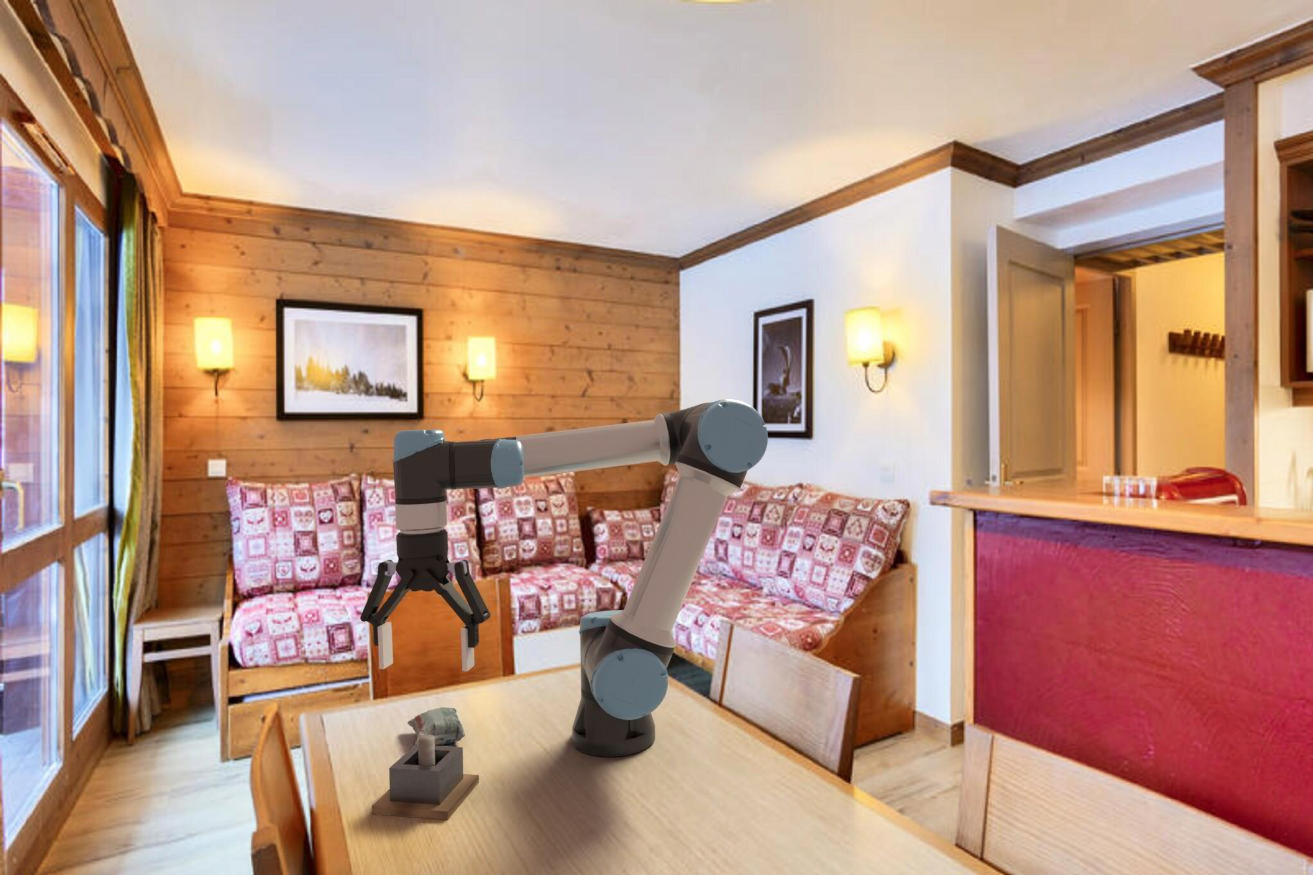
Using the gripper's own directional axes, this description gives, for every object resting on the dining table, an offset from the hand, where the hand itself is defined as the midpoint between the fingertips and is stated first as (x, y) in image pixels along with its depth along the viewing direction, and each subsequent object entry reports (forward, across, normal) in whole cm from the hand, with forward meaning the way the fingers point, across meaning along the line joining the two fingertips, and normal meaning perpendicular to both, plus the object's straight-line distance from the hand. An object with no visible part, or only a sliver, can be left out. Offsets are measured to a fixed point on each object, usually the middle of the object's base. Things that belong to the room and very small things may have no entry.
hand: (426, 667), depth 109 cm
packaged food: (+20, +9, -19) cm, 30 cm away
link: (+19, 0, 0) cm, 19 cm away
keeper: (+20, +1, 0) cm, 20 cm away
